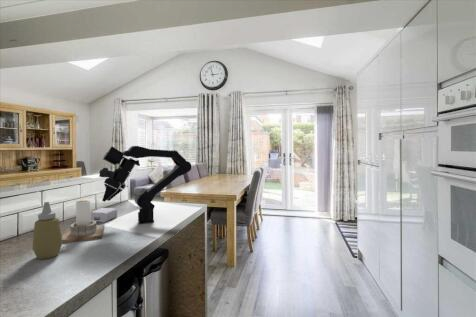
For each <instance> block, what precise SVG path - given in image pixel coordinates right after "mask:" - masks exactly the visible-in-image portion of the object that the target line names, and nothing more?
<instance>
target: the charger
mask: <svg viewBox="0 0 476 317" xmlns="http://www.w3.org/2000/svg"><path fill="white" fill-rule="evenodd" d="M118 212H119V210H118V209H117V208H114V207H110V208H109V207H101V208H98V209H95V210H93V211H91V220H92V221H96V223H98V222H99V223H107V222H108V221H110V220H113V219H114V218H115V219H116V218H117V216H118V215H117V214H118Z"/></svg>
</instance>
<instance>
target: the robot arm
mask: <svg viewBox="0 0 476 317" xmlns="http://www.w3.org/2000/svg"><path fill="white" fill-rule="evenodd" d="M127 157H129V158H127ZM149 157H154V158H170V159H172V161H173V163H174V164H175V166H174V167H173V168H172V170H170V171H169V173H167V174H166V175H165V176H163V177H162V178H161V179H160V180H158V181H157V182H156V183H155V184H153V185H152V186H151V187H150V188H148V189H146V188H142V189H141V190H140V191H139V192H137V193H136V195H135V196H134V203H135V204H136V205H137V207H139V209H138V210H139V211H138V213H137V221H138V222H139V224H149V223H154V222H155V220H154V209H155V205H154V204H153V203H152V201H153V200H154V198H155V196H156V195H158V194H159V193H160V192H162V191H163V190H164V189H165V188H166V187H168V186H169V185H170V184H171V183H172V182H174V181H175V180H176V179H178V177H181V176H183V175H185V174H187V173H189V172H190V171H191V170H192V164H191V162H190V161H188V160H186V159H185V157H183V156H182V155H181V154H180V153H179V151H177V150H175V149H174V150H169V149H168V150H167V149H151V148H146V147H143V146H139V145H132V146H130V147H129V148H128V150H125V151H120V150H119V149H116V148H115V147H113V146H110V148H109V149H108V150H107V151H106V153H105V154H104V155H103V158H102V160H103V161H105V162H107V163H109V164H111V165H113V166H116V165H119V166H118V167H117V168H115V169H114V170H109V168H108V167H102V169H100V170H99V176H98V177H100V178H105V179H104V182H103V185H104V188H105V189H104V190H105V191H104V194H103V197H102V202H104V203H105V202H106V201H108V202H109V201H111V200H112V199H113V198H115V197H116V196H117V195H119V194H120V193H122V192H123V190H125V188H126V186H127V185H126V181H127V179H128V178H129V177H130V174H131V172H132V171H133V169H134V168H135V165H136V166H137V167H140V166H141V164H140V160H139V159H143V158H149ZM135 159H136V160H135Z"/></svg>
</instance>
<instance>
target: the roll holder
mask: <svg viewBox="0 0 476 317" xmlns="http://www.w3.org/2000/svg"><path fill="white" fill-rule="evenodd" d="M97 223H98V222H96V221H92V220H91V225H87V226H77V223H76V221H75V222H73V223H71V224H70V226H69V228H67V229H66V230H65V232H64V233H63V235H61V236H62V244H65V243H67V244H68V243H75V242H83V241H89V240H98V239H99V240H100V239H102V238H103V235H104V230H105V224H101V225H98V224H97Z"/></svg>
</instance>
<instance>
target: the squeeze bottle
mask: <svg viewBox="0 0 476 317" xmlns="http://www.w3.org/2000/svg"><path fill="white" fill-rule="evenodd" d="M62 236H63V235H62V230H61V224H60V219H59V218H58V217H56V211H52V208H51V205H50V202H49V201H45V202H43V207H42V210H41V212H40V213H38V214H37V220H36V221H34V227H33V239H32V251H33V252H34V254H35V256H36V258H37V259H39V260H45V259H46V260H47V259H50V258H54V257H56V256H58V255H59V254H60V252H61V248H62V246H63V243H62Z"/></svg>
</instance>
